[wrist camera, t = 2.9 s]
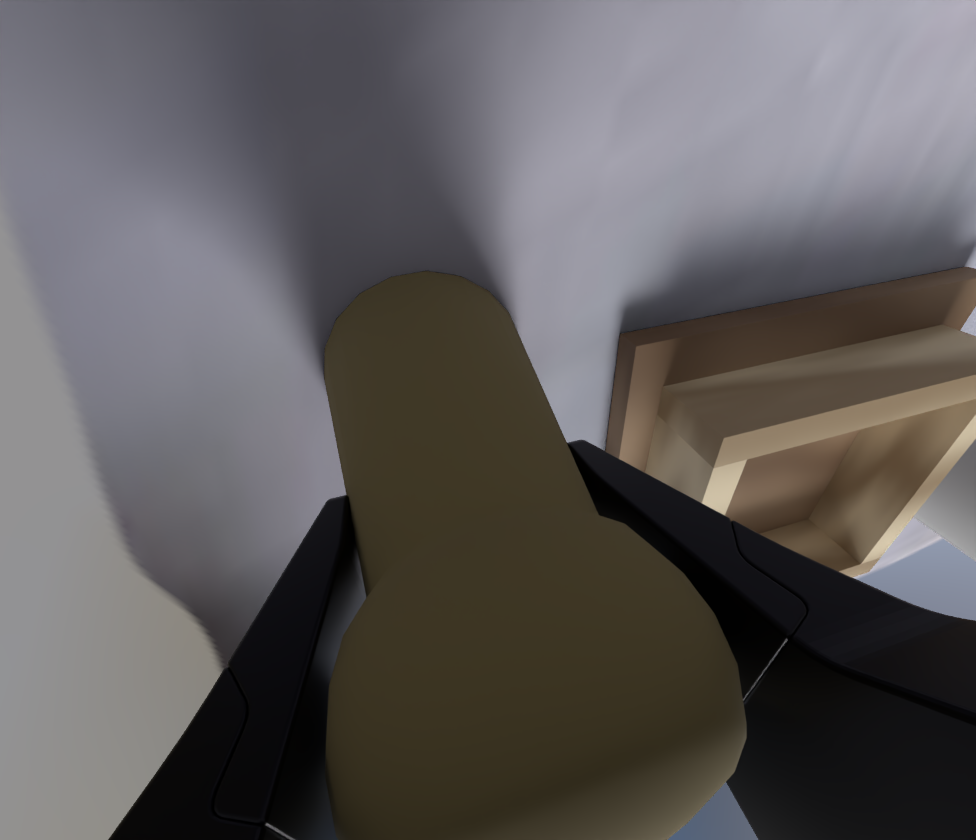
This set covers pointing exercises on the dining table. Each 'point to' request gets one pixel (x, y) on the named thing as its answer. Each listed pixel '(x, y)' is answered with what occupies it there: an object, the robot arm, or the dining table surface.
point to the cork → (502, 604)
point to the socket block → (807, 411)
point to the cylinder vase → (954, 505)
